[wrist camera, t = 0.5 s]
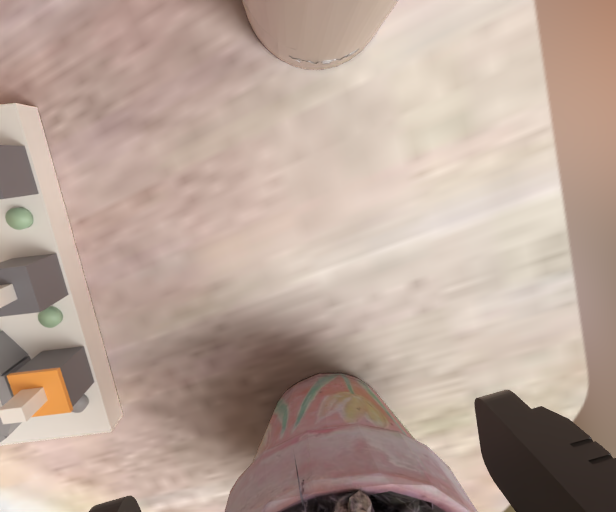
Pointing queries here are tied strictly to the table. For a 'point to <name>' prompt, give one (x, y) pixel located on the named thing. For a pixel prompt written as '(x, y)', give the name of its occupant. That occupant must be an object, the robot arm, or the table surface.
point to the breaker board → (73, 306)
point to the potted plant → (343, 457)
